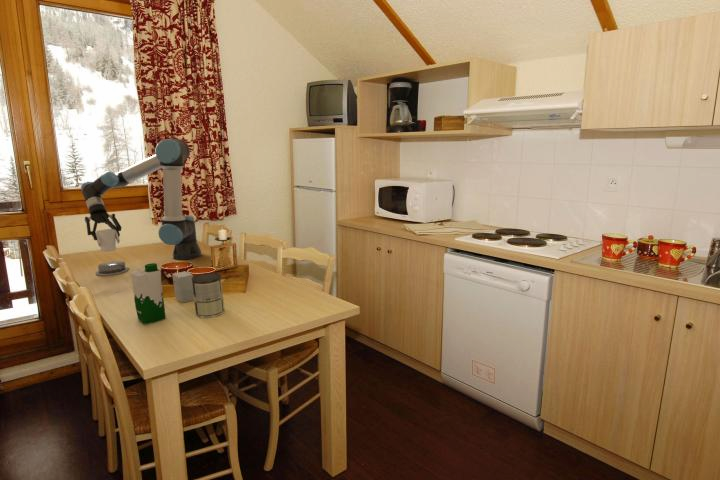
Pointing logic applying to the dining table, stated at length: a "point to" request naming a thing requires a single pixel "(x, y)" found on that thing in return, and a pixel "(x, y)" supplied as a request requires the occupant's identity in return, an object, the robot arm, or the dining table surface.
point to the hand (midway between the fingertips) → (109, 243)
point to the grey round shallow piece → (111, 268)
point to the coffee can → (208, 295)
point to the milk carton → (148, 294)
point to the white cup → (107, 239)
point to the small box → (183, 286)
